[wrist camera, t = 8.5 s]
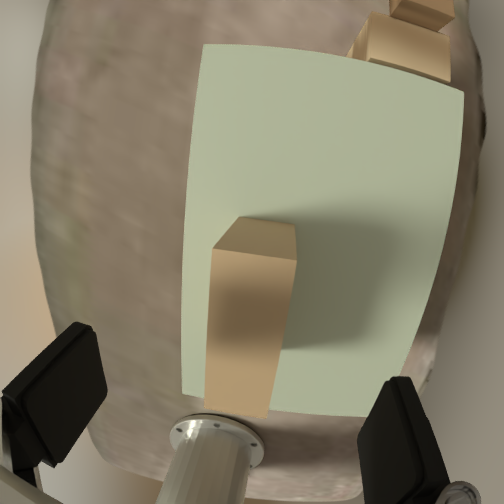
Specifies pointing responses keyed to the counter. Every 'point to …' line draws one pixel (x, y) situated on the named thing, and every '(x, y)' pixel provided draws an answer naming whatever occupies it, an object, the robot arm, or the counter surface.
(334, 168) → the lid
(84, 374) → the robot arm
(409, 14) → the rectangular brown block
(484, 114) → the counter surface
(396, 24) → the tan wooden open box
